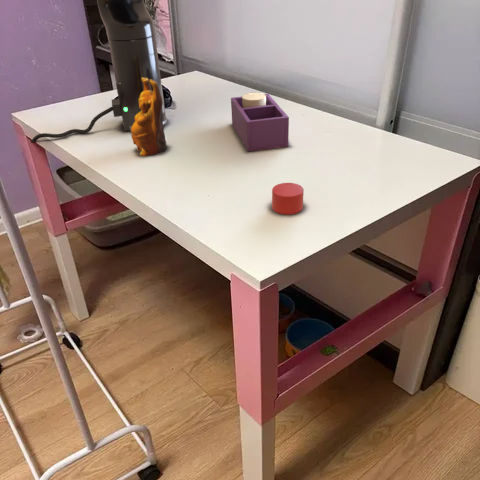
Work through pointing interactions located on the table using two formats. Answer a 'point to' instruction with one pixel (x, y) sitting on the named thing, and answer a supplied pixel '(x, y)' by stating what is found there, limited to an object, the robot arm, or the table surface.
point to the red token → (287, 198)
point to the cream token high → (253, 100)
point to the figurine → (149, 121)
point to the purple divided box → (260, 125)
